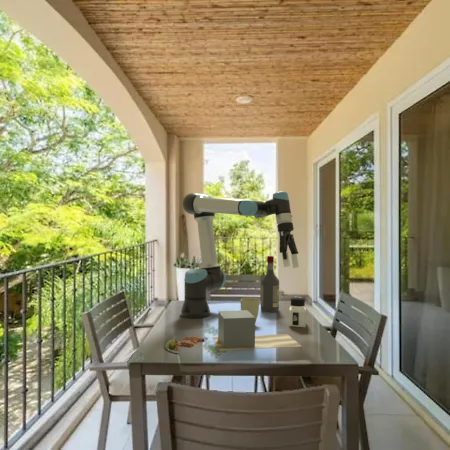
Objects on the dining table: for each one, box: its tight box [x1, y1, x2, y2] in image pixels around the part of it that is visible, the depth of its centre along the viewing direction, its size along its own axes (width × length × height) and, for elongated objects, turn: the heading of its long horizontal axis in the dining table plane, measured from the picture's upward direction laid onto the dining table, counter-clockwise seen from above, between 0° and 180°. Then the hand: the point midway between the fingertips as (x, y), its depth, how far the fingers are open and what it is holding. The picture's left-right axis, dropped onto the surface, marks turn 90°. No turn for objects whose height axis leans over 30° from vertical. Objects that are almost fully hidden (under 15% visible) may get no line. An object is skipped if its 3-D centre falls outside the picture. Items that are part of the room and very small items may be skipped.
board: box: [212, 333, 303, 352], centre depth 149 cm, size 16×32×2 cm, turn 101°
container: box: [288, 296, 307, 328], centre depth 181 cm, size 8×8×13 cm
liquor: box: [260, 255, 280, 313], centre depth 210 cm, size 9×9×30 cm
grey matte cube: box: [217, 309, 256, 348], centre depth 147 cm, size 12×12×11 cm
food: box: [164, 335, 205, 354], centre depth 147 cm, size 18×18×3 cm
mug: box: [239, 297, 260, 324], centre depth 180 cm, size 11×10×12 cm
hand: (291, 267), depth 178 cm, fingers open, 13 cm apart
